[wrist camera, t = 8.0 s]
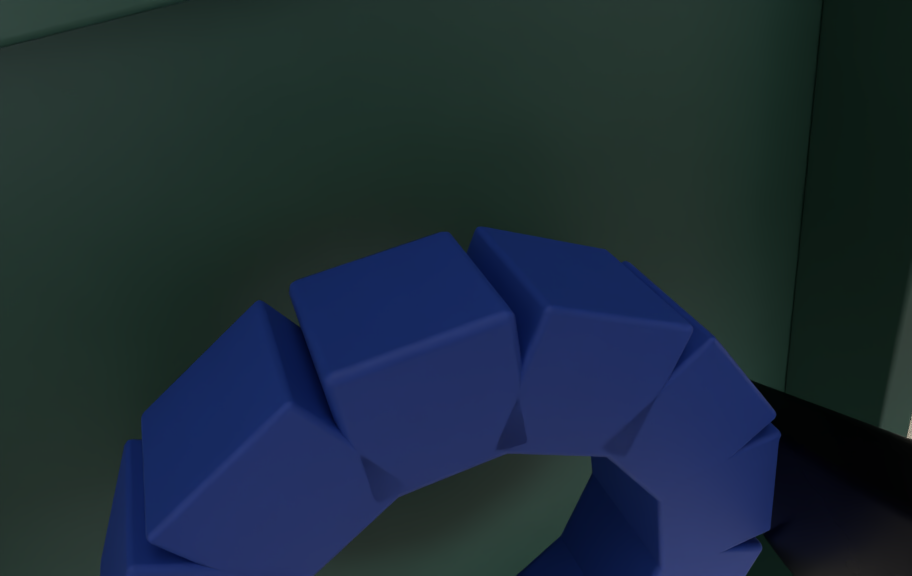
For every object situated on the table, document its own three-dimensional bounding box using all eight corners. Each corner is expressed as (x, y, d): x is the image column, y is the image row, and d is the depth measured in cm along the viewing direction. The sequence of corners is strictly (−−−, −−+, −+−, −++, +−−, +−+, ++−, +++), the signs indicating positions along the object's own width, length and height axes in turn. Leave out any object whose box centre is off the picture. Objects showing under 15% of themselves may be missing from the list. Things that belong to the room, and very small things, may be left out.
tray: (74, 820, 13) (67, 998, 11) (-680, 64, 6) (-1087, 192, 4) (778, 503, 16) (871, 600, 14) (857, -271, 9) (1075, -297, 7)
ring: (236, 776, 10) (254, 911, 9) (-31, 384, 7) (-66, 523, 5) (691, 567, 12) (761, 658, 11) (695, 142, 8) (806, 205, 7)
